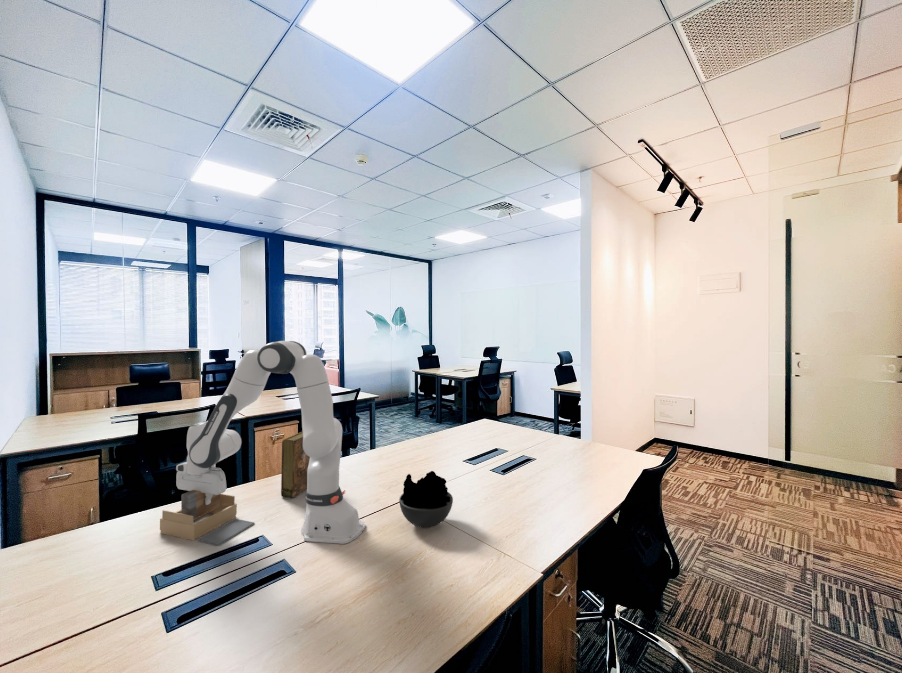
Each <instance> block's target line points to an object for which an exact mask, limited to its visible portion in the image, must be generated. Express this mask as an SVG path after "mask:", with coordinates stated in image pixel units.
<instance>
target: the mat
mask: <svg viewBox="0 0 902 673" xmlns="http://www.w3.org/2000/svg"><path fill="white" fill-rule="evenodd" d="M254 525H255V522H254V521H248V520H243V519H238V518H233V519H231V520H229V521H228V522H226V523H224V524H222V525H220V526H219V527H217V528H215V529H213V530H211V531H210V532H208V533H206V534H204V535H202V536H200V537H199V538H197V542H200V543H204V544H208V545H214V546H218V547H220V546H221V545H222V544H224V543H226V542H228V541H229V540H231V539H232V538H234V537H235V536H238V534H241V533H242V532H244V531H246V530H248V529H249V528H251V527H252V526H254Z"/></svg>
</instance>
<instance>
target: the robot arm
mask: <svg viewBox="0 0 902 673" xmlns="http://www.w3.org/2000/svg"><path fill="white" fill-rule="evenodd" d="M245 352H246V353H244V355H243V356H242V358H241V360H240V361H239V363H238V365H237V367H236V369H235V371H234V373H233V375H232V377H231V380H230V382H229V384H228V386H227V388H226V390H225V391H224V393H223V394H222V396H221V397H220V398H219V401H218V402H217V403H216V405H215V406H214V408H213V411H212V412H211V414H210V416H209V418H208V419H207V420H206V421H205V420H204V421H201V422H196V423H193V424H192V425H190V426H189V427H188V430H187V434H186V449H187V456H186V461H185V462H181V463H179V464H176V466H175V467H176V468H175V470H176V481H175V482H176V487H177V489H178V490H183V491H187V492H189V491H191V490H196V491H201V493H205V496H207V497H206V499H205V500H203V502H204V503H203V504H205V505H208V504H210V503H211V498H212V496H213V495H219V494H223V493H225V492H226V490H227V480H226V474H225V472H224V471H223V470H222V468H220V467H216V464H218V463H219V462H221V461H223V460H224V459H227V458H228V457H230V456H232V455H234V454H236V453H237V452H239V450H240V449H241V448H242V443H243V440H242V437H241V435H240V434H239V432H238V431H236V430H235V429H228V426H229V424H230V422H231V421H232V420H233V418H234V417H235V416H236V415H237V414H238V413H239V412H240V411H242V410H243V409H245V408H246V407H247V406H250V405H251V404H252V403H255V402H256V401H257V400H259V398H260V396H261V395H262V393H263V392H264V389H265V387H266V385H267V382H268V379H269V376H270V375H271V373H272V374H273V373H274V374H282V375H284V374H285V375H288V374H289V373H290V374H291V375H292V377H293V379H294V381H295V382H294V383H295V386H296V392H297V395H298V400H299V401H298V402H299V404H300V411H301V428H302V430H301V431H303V450H304V452H305V453H306V454H307V455H308V456H309V457H310V459H309V465H308V469H307V489H306V490H305V503H306V506H305V514H304V515H305V516H304V518H303V519H304V521H303V524H302V527H301V534H302V535H303V541H305V542H311V543H312V542H314V543H315V542H316V543H328V544H340V545H341V544H343V545H344V544H348V543H350V542H352V541H354V540H355V539H356V538H358V537H359V536H360V535H361V534H362V533H363V532H364V531H363V530H365V529H366V523H365V521H362V520H360V517H359V512H358V510H357V508H355V507H354V506H353V505H351V503H350V502H348V501H347V499H345V498H344V495H345V494H346V490H343V491H342V489H341V487H340V463H341V455H342V443H343V442H342V441H343V426H342V425H343V424H342V423H341V422H340V420H339V419H337V418H336V417H335V416H334V400H333V395H332V392H331V387H330V382H329V379H328V374H327V371H326V368H325V365H324V363H323V360H322V359H321V357H320V356H318V355H316V354H307V350H306V348H305V347H304V346H303V344H301V343H300V342H297V341H293V340H287V341H286V340H279V341H272V342H269V343H267V344H265V345H263V346H262V347H261V348H260V349H251V350H248V351H245ZM364 528H365V529H364ZM362 531H363V532H362Z"/></svg>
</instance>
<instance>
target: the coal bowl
mask: <svg viewBox="0 0 902 673" xmlns="http://www.w3.org/2000/svg"><path fill="white" fill-rule="evenodd" d="M446 485H447V480H446V478H443V477H442V476H439V475H437V473H436V472H435V470H431V471H429V472H426V475H425V476H424V477H421V478H420V479H417V481H416V482H414V481H413V480H412V474H410V473H408V474H407V475H406V476H405V480H404V482H403V489H402V490H403V491H402V492H403V493H402V494H401V495H400V496H399V501H398V502H399V507H400V511H401V513H402V514H403V517H404V518H405V519H406V520H407V521H408V522H409V523H410V524H411V525H413V526H415V527H418V528H422V529H428V528H434V527H436V526H439V525H440V524H441V523H443V522H444V520H446V518H447V517H448V516H449V514H450V511H451V510H452V507H453V503H454V502H453V501H454V498H453V495H452V494H451V493H450V492H448V490H449V489H448V487H447V486H446Z"/></svg>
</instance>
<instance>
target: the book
mask: <svg viewBox="0 0 902 673" xmlns="http://www.w3.org/2000/svg"><path fill="white" fill-rule="evenodd" d="M309 459H310V457H309V456H308V455H307V454H306V453H305V452H304V450H303V430H301V431H300V432H298V433H295V434H293V435H291V436H288V437H286V438H283V439H282V441H281V471H280V472H281V477H280V479H281V480H280V481H281V482H280V486H281V487H280V489H281V490H280V495H281V498H284V497H289V498H291V499H295V498H296V497H298V496H299V495H300V493H301V494H303V493H304V492H306V490H307V469H308V465H309ZM303 491H304V492H303Z"/></svg>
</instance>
